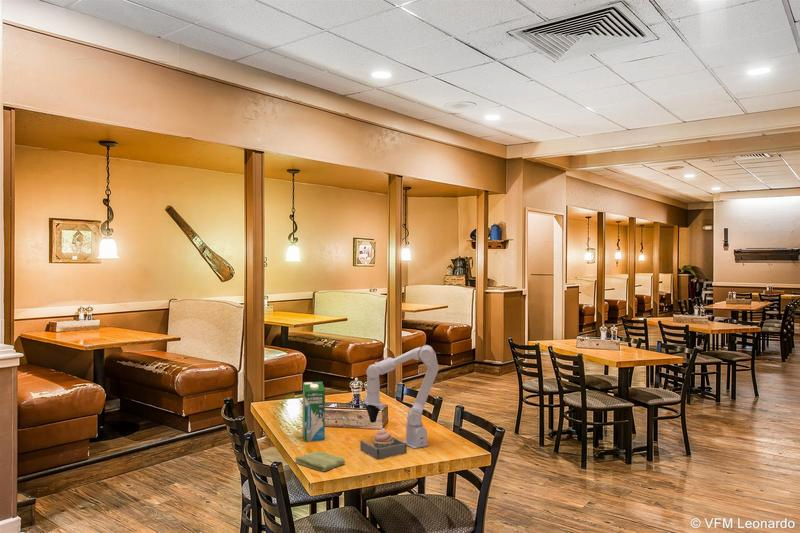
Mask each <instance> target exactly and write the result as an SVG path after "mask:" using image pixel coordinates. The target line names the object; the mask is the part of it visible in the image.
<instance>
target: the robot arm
mask: <svg viewBox="0 0 800 533" xmlns="http://www.w3.org/2000/svg"><path fill="white" fill-rule="evenodd" d="M410 360H416V361H421V362H422V363H423V364H425V367H426V368H427V370H426V373H425V375H424V378H423V379H422V383H421V385H420V387H419V390H418V392H417V395H416V398H415V400H414V402H413V404H412V406H411V407H410V408H409V409H408V411H407V416H406V420H407V421H406V424H405V425H406V427H405V428H406V430H405V432H406V434H405V441H404V440H403V442H404V443H406V444H407V446H408V447H410V448H412V449H419V448H424V447H428V446H429V443H428V432H427V428H425V427H424V425H423V421H422V415H423V410H424V407H425V405H426V402H427V400H428V397H429V394H430V393H431V391H432V390H431V389H432V387H433V385H434V383H435V379H436V378H437V375H438V373H439V368H440V367H439V363H438V358H437V354H436V351H435V350H434V349H433V346H431V345H428V344H423V345H422V346H419V347H416V348H413V349H411V350H409V351H407V352H405V353H402V354H401V355H398V356H396V357H395V358H393V357H391V356H390V357H387V356H386V357H384V359H383V360H381V361H376V362H374V364H370V365H369V366H368V367H367V369H366V376H367V377H366V380H367V381H366V398H362V403H363V404H364V405H366V406H365V410H366V411H367V413H368V418H369V423H371V424H372V423H373V424H374V423H376V422H377V418H378V414H379V412H380V410H385V405H384V404H383V403H382V402H381V401H380V400H381V399H380V396H381V394H380V390H381V389H380V388H381V387H380V384H381V382H380V375H382V376H383V375H385V374H387V373H389V372H392V371H394V370H396V367H397V366H398V365H400V364H403V363H405V362H408V361H410Z"/></svg>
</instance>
